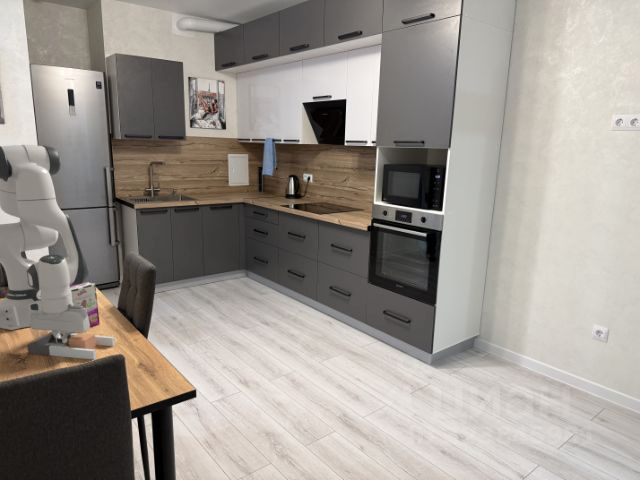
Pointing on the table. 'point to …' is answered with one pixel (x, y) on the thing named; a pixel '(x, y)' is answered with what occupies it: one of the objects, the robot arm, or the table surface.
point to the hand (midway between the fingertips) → (61, 342)
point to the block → (83, 341)
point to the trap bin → (45, 344)
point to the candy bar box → (86, 300)
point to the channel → (80, 351)
